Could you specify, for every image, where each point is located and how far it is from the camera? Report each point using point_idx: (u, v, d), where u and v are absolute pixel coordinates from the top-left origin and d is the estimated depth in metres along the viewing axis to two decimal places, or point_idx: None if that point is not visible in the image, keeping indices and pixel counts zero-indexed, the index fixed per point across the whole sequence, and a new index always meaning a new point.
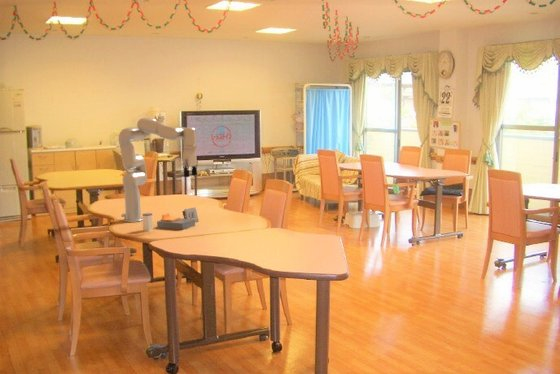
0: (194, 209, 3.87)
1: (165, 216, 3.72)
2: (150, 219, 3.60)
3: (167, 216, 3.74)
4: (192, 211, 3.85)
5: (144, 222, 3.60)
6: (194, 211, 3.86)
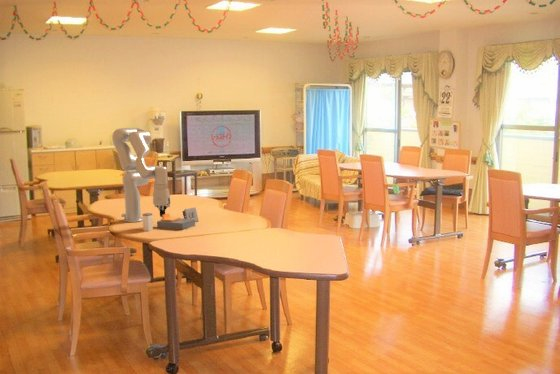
0: (194, 209, 3.87)
1: (165, 216, 3.72)
2: (150, 219, 3.60)
3: (167, 216, 3.74)
4: (192, 211, 3.85)
5: (144, 222, 3.60)
6: (194, 211, 3.86)
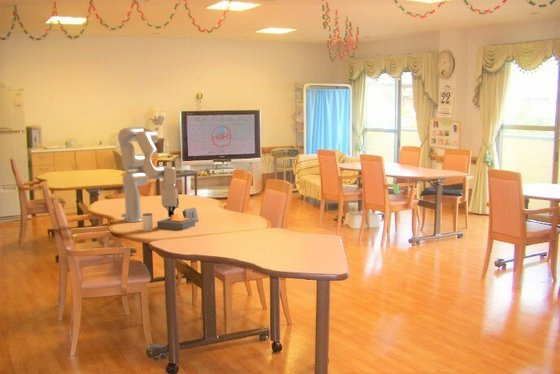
0: (194, 209, 3.87)
1: (174, 217, 3.70)
2: (150, 219, 3.60)
3: (176, 217, 3.72)
4: (192, 211, 3.85)
5: (144, 222, 3.60)
6: (194, 211, 3.86)
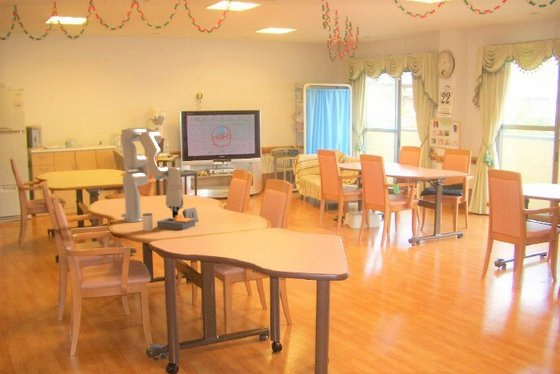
0: (194, 209, 3.87)
1: (178, 217, 3.68)
2: (150, 219, 3.60)
3: (180, 217, 3.70)
4: (192, 211, 3.85)
5: (144, 222, 3.60)
6: (194, 211, 3.86)
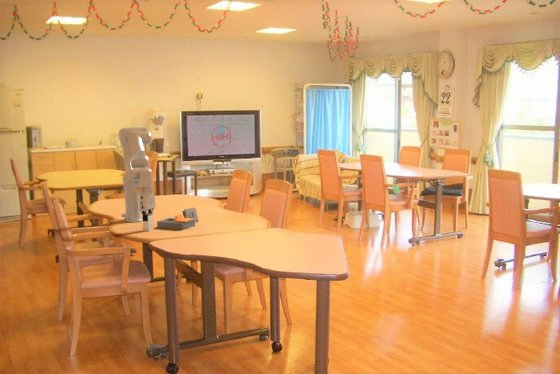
0: (194, 209, 3.87)
1: (178, 217, 3.68)
2: (150, 219, 3.60)
3: (180, 217, 3.70)
4: (192, 211, 3.85)
5: (144, 222, 3.60)
6: (194, 211, 3.86)
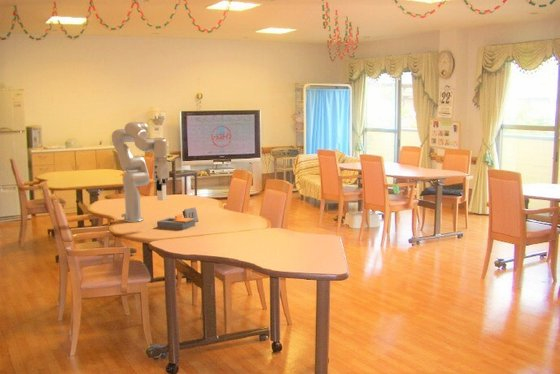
0: (194, 209, 3.87)
1: (178, 217, 3.68)
2: (164, 189, 3.65)
3: (180, 217, 3.70)
4: (192, 211, 3.85)
5: (158, 192, 3.65)
6: (194, 211, 3.86)
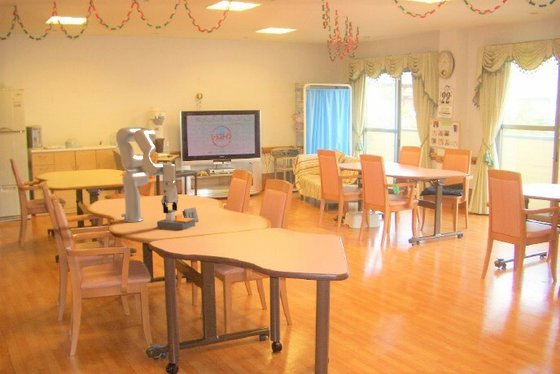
0: (194, 209, 3.87)
1: (178, 217, 3.68)
2: (173, 215, 3.71)
3: (180, 217, 3.70)
4: (192, 211, 3.85)
5: (167, 218, 3.71)
6: (194, 211, 3.86)
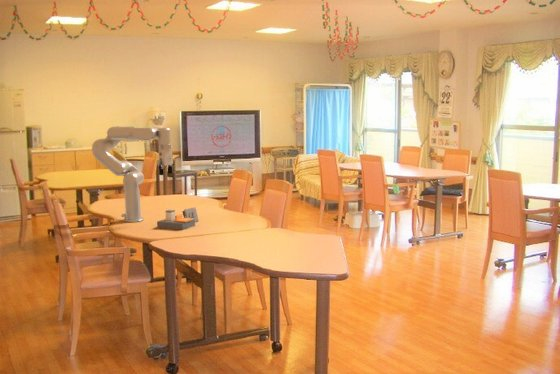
0: (194, 209, 3.87)
1: (178, 217, 3.68)
2: (173, 215, 3.71)
3: (180, 217, 3.70)
4: (192, 211, 3.85)
5: (167, 218, 3.71)
6: (194, 211, 3.86)
